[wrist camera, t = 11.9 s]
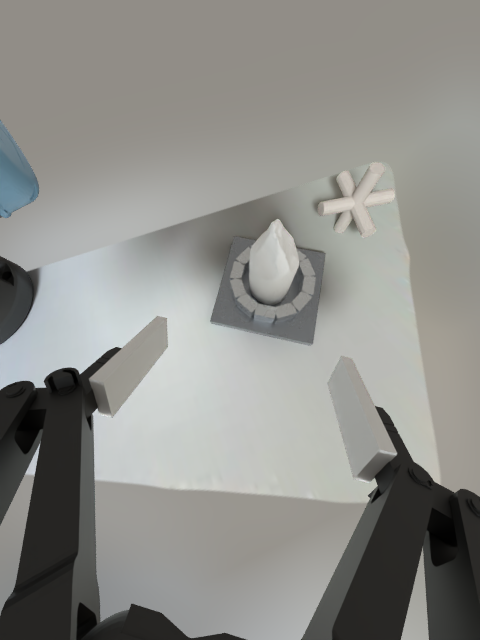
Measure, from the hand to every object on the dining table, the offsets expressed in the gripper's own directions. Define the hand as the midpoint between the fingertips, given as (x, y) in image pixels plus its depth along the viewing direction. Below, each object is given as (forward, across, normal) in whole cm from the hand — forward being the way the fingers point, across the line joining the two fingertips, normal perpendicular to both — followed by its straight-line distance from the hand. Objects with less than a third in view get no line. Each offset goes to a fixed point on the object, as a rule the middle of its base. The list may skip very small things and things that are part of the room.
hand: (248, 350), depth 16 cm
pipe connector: (+26, +10, +8) cm, 29 cm away
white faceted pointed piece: (+16, +1, 0) cm, 16 cm away
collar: (+17, +1, -1) cm, 17 cm away
